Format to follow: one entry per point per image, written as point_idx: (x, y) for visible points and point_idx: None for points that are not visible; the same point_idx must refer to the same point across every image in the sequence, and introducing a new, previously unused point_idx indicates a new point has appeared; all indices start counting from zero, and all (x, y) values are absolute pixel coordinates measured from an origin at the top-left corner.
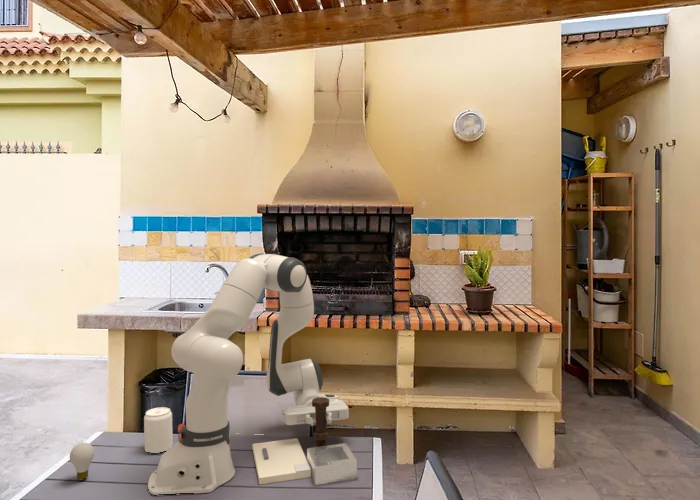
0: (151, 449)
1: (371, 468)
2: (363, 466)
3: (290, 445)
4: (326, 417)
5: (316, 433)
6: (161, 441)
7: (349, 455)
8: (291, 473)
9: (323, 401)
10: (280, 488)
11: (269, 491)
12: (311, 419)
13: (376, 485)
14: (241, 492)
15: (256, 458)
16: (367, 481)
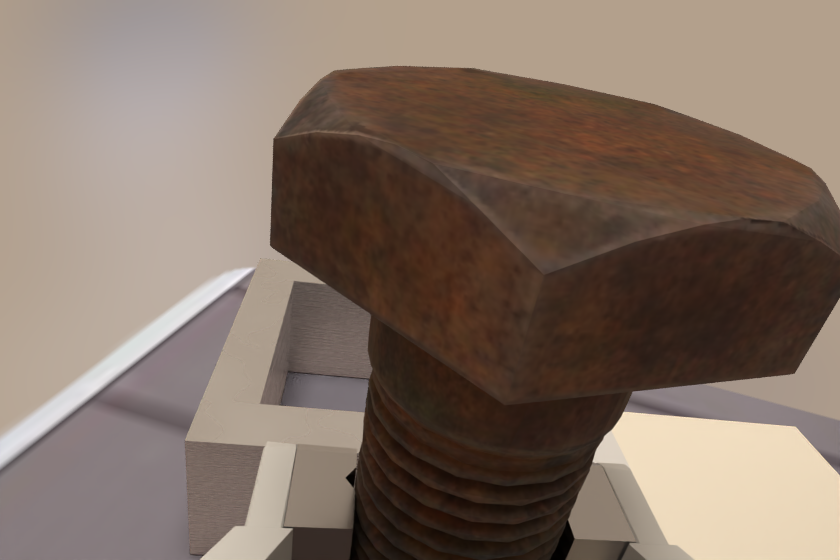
0: None
1: (102, 396)
2: (130, 430)
3: None
4: (338, 496)
5: None
6: None
7: (272, 299)
8: (624, 412)
9: (489, 79)
10: (649, 398)
11: (694, 395)
12: (634, 489)
13: (203, 292)
14: (828, 426)
15: None
16: (221, 320)
